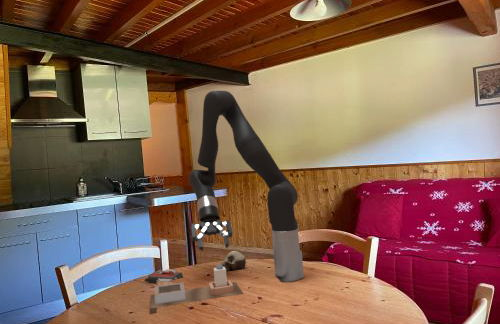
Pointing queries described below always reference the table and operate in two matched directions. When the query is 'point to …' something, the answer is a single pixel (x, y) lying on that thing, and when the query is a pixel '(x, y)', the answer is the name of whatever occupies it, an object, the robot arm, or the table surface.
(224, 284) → the plug
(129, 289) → the table surface
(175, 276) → the walkie-talkie
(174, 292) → the frame
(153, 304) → the panel
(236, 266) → the skull
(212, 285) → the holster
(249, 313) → the table surface
